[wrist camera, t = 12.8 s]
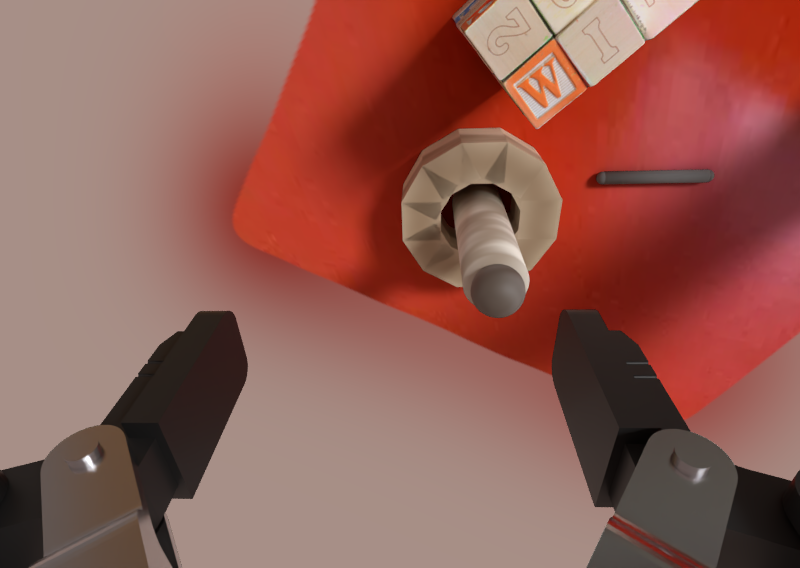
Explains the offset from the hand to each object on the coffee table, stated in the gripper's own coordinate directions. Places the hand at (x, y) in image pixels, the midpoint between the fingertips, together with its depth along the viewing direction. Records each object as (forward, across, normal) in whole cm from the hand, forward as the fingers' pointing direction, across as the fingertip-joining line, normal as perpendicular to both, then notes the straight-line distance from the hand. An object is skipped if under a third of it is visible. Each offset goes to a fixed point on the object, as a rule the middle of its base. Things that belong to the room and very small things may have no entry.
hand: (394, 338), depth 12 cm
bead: (+28, -5, +8) cm, 30 cm away
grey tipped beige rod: (+28, -5, +8) cm, 30 cm away
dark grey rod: (+28, -19, +6) cm, 34 cm away
